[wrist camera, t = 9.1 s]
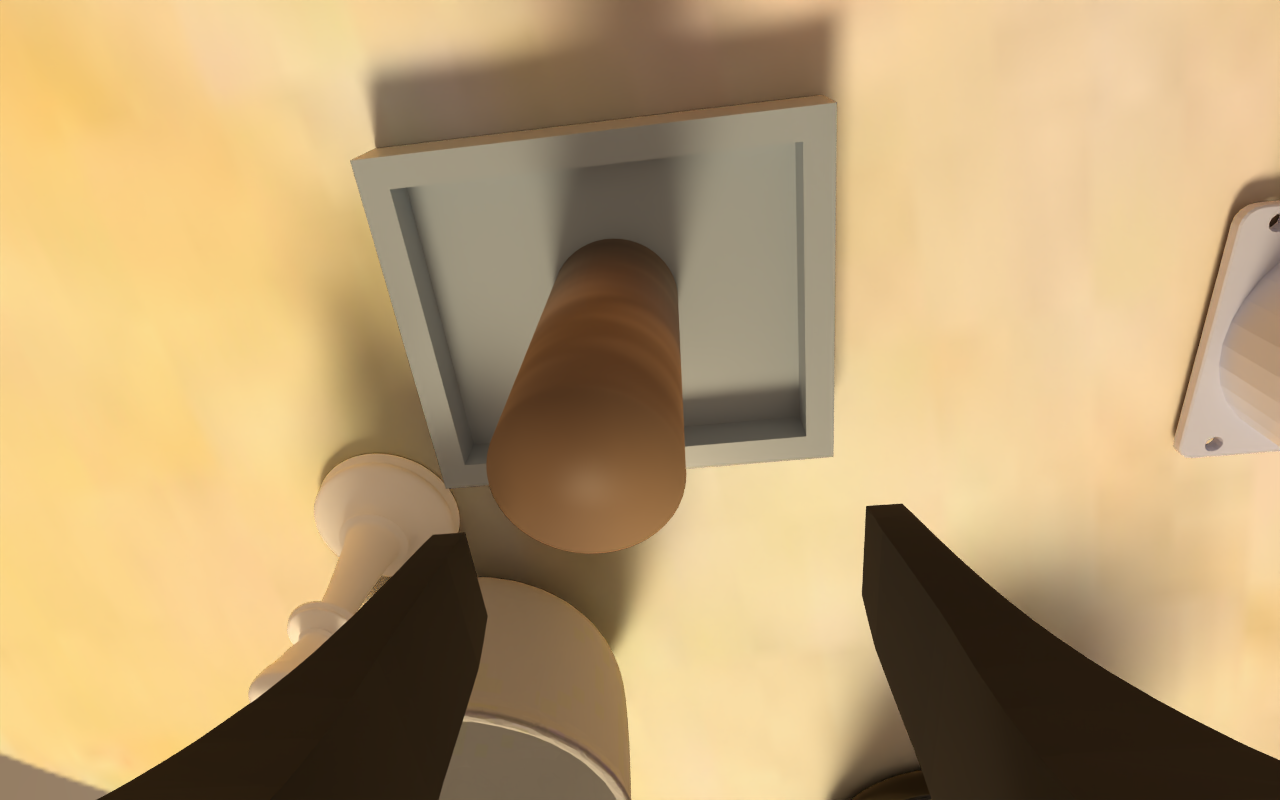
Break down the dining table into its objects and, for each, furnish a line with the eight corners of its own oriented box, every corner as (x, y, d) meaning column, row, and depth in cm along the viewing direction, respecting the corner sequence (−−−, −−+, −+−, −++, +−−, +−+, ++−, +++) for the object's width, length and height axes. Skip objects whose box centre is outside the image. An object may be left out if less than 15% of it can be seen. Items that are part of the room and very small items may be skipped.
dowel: (678, 237, 20) (686, 385, 12) (678, 356, 22) (686, 553, 14) (548, 239, 20) (473, 387, 12) (558, 357, 22) (498, 553, 14)
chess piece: (304, 452, 25) (105, 700, 16) (449, 452, 24) (330, 701, 16) (336, 565, 27) (178, 836, 18) (468, 566, 27) (374, 839, 18)
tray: (822, 94, 19) (836, 102, 17) (821, 426, 24) (833, 456, 22) (374, 148, 20) (350, 160, 18) (459, 457, 25) (445, 488, 23)
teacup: (390, 496, 25) (285, 683, 18) (681, 580, 27) (688, 783, 20) (333, 742, 32) (240, 952, 25) (572, 799, 33) (548, 1013, 26)
